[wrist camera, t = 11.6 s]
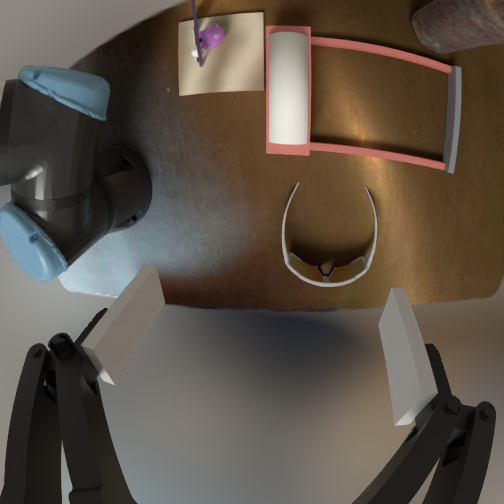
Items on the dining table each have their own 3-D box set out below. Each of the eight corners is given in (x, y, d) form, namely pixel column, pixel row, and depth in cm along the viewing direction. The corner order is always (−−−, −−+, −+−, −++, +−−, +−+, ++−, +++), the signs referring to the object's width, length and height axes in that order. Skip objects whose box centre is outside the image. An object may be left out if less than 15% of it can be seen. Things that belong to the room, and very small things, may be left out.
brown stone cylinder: (457, 58, 22) (546, 49, 5) (416, 54, 24) (499, 28, 7) (444, 14, 19) (520, -19, 2) (402, 8, 21) (467, -44, 4)
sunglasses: (282, 270, 46) (279, 284, 41) (284, 179, 40) (281, 183, 36) (365, 274, 43) (371, 289, 39) (376, 185, 38) (385, 190, 33)
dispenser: (271, 146, 36) (263, 156, 29) (271, 37, 28) (262, 20, 21) (446, 169, 32) (473, 185, 25) (453, 69, 23) (482, 65, 17)
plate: (181, 95, 34) (179, 95, 33) (181, 24, 28) (178, 22, 27) (264, 90, 32) (263, 90, 31) (263, 14, 26) (263, 12, 25)
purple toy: (184, -2, 20) (191, 58, 25) (228, -8, 21) (237, 52, 25) (187, 15, 26) (194, 68, 30) (224, 10, 27) (232, 62, 31)
